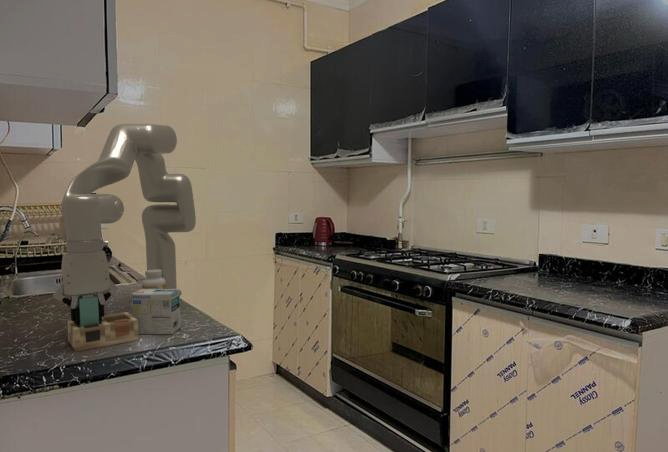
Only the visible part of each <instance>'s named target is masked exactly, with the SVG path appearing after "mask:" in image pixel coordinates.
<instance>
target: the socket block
mask: <svg viewBox="0 0 668 452" xmlns="http://www.w3.org/2000/svg"><path fill="white" fill-rule="evenodd" d="M66 323H67V337H68V338H67V340H68V342H69V344H70V345H71V347H72V348H73V350H74V351H75V352H81V351H86V350H92V349H97V348H102V347H108V346H112V345H113V346H114V345H119V344H124V343H129V342H134V341H139V334H138V320H137V319H136V318H134V317H133V316H132V314H130V313H129V312H128V311H125V312H124V311H123V312H119V313H111V314H106V315H105V314H104V316H103V317H102V321H99V324H98V323H96V324H90V325H84V326H83V327H78V325H76V324H75V323H74V321H71V320H67V322H66Z"/></svg>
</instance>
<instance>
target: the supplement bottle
mask: <svg viewBox="0 0 668 452" xmlns="http://www.w3.org/2000/svg"><path fill="white" fill-rule="evenodd" d="M144 275H145V279H143V280H142V282H141V283H142V284H141V289H166V281H165V279H164V278H162V277H161V275H162V270H158V269H154V270H147V269H146V270H145V271H144Z"/></svg>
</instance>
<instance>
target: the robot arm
mask: <svg viewBox="0 0 668 452" xmlns="http://www.w3.org/2000/svg"><path fill="white" fill-rule="evenodd" d="M177 142H178V138H177V134H176V131H175V130H174V129H173V127H171V126H170V125H167V124H166V125H165V124H164V125H162V124H154V123H123V124H122V123H121V124H117V125H115V126H113V128H111V130H110V131H109V134H108V136H107V138H106V141H105V142H104V143H105V144H104V147H103V148H102V152H101V153H100V156H99V158H98V160H96V162H94V163H92V164H90V165H89V166H87V167H86V168H84V170H82V171H81V172H79V173H78V174H77V175H76V176H74V178H73V177H72V180H70V182H69V183H68V186H67V189H66V191H65V192H64V195H63V197H62V201H61V206H60V211H61V216H62V217H63V219H64V221H65V224H64V225H65V237H66V238H65V240H66V241H65V242H66V253H63V254H62V259H61V271H60V273H61V274H60V276H61V277H60V279H61V280H60V284H59V286H58V287H57V289H56V290H55V291H54V293H53V295H52V297H53V298H54V299H55V300H57V301H59V302H62V303H64V304H65V305H66V306H68V307H69V308H70V321H74V323H75V324H76V325H79V324H80V323H79V308H78V307H77V300H78V296H81V295H86V294H95V295H96V296H97V297H98V310H99V321H102V317H103V316H104V315H105V304H106V303H107V301H109V300H108V299H110V298H111V297H112V295H114V294H115V293H116V292H117V291H119V287H118V285H116V284H115V282H113V281H112V279H111V278H110V272H109V264H108V260H107V259H108V258H107V255H106V251H105V250H103V248H105V247H108V246H109V241H108V240H103V238H102V227H101V226H102V225H101V224H103V225H106V224H107V225H108V224H114V223H116V222H118V221H120V220H121V218H122V217H123V215H124V211H125V207H124V203H123V200H122V199H121V198H119V197H118V196H117V195H114V194H110V193H98V194H97V193H94V192H95V191H97V190H98V189H100V188H104V187H106V186H111V185H113V184H115V183H116V184H117V182H118V183H119V182H120V181H123V180H125V179H126V178H128V177H129V175H130V174H131V172H132V169H133V166H134V163H136V167H137V171H138V178H139V182H140V188H141V194H142V197H143V199H144V200H145V201H147V202H149V203H150V202H151V203H165V204H151V205H148V206H146V207H145V208H144V209H143V210H142V214H141V221H142V227H143V232H144V238H145V254H146V255H145V257H146V261H145V262H146V271H147V270H154V269H158V270H162V275H161V277H162V278H164V279H165V281H166V289H178V288H177V285H178V284H177V265H176V264H177V261H176V260H177V255H176V244H175V241H174V239H173V237H172V236H170V234H169V233H189V232H191V231H193V230H195V227H196V224H197V223H196V222H197V220H196V210H195V202H194V200H195V199H194V193H193V188H192V187H193V186H192V183H191V180H190V178H189V177H188V176H187V175H185V174H183V173H168V172H167V169H166V168H167V167H166V161H165V159H164V156H163V154H171V153H173V152H174V150H175V149H176V146H177ZM166 203H169V204H166ZM170 203H175V204H170ZM179 291H180V296H181V295H182V290H180V289H179ZM63 293H64V294H65V296H64V295H63ZM66 296H68V297H69V298H68V297H66Z"/></svg>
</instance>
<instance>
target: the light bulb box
mask: <svg viewBox="0 0 668 452" xmlns="http://www.w3.org/2000/svg"><path fill="white" fill-rule="evenodd" d="M179 290H180V288H177V289H142V288H141V289H139V290H137V291H134V292H132V293H131V315H132V316H133V317H134V318H136V319H137V320H138V335H174V334H175V333H176V332H177V331H178V330H179V329H180V328H182V319H181V318H182V316H181V315H182V314H181V295H180V291H181V290H180V291H179Z"/></svg>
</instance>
